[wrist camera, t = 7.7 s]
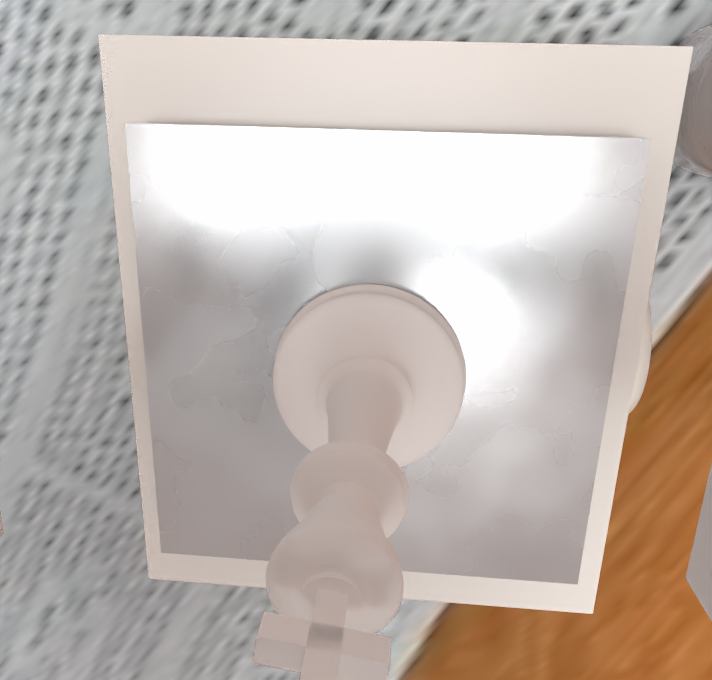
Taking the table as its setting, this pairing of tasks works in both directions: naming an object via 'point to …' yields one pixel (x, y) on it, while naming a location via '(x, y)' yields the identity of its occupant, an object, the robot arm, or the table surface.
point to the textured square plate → (402, 271)
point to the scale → (410, 113)
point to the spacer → (697, 108)
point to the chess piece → (353, 471)
